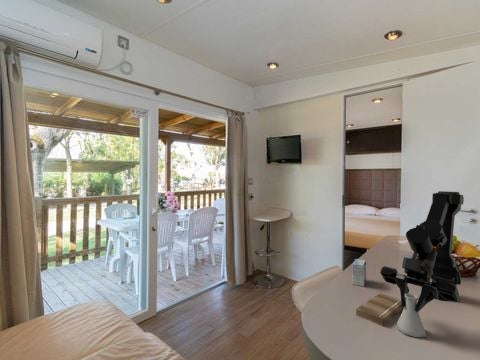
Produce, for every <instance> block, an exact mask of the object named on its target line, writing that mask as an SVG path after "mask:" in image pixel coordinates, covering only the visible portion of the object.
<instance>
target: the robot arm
mask: <svg viewBox="0 0 480 360" xmlns="http://www.w3.org/2000/svg"><path fill="white" fill-rule="evenodd" d="M464 199H465V198H464V195H463V194H461V193H460V192H459V191H443V190H441V191H440V190H439V191H437V192H433V193H432V201H431V205H430V208H429V211H428V212H427V216H426V219H425V220H424V221H422V222H421V223H420V224H416V226H415V227H413V228H409V230H408V231H406V233H405V238H406V240H407V242H408V244H409V247H410V249H411V251H412V252H413V253H412V256H411V257H410V258H409V257H405V256H404V257H403V260H402V266H401V268H402V269H404V270H403V271H404V273H401V272H400V273H399V272H398V270H397V268H393V267H390V266H386V265H384V266H382V267H381V268H380V272H379V273H380V275H381V276H382V279H383V281H384V282H386V283H388V284H392V285H396V286H397V287H398V288H399V291H400V299H401V304H402V307H403V309H404V307H405V303H406V298H405V294H410V288H409V286H408V285H413V286H418V287H420V288H421V291H420V294H419V297H418V300H417V304H416V309H415V311H416V312H418V313H419V312H420V311H422V309H423V308H424V307H425V306H426V305H427V304H429V303H431V301H433V300H439V301H449V302H453V303H459V300H460V299H459V298H460V293H459V290H458V286H457V285H459V286H460V285H461V284H462V279H461V277H462V276H461V273H460V271H459V268H458V267H457V261H456V260H455V258H454V256H453V255H452V253H453V251H452V250H453V241H454V230H455V229H454V227H455V219H456V218H455V216H456V215H457V214H458V213H459V212H460V211H461V210H462V205H464V201H465V200H464ZM435 248H436V249H435ZM405 274H406V275H405Z"/></svg>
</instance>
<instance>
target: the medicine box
mask: <svg viewBox="0 0 480 360" xmlns="http://www.w3.org/2000/svg"><path fill="white" fill-rule="evenodd" d="M351 265H352V266H351V268H352V270H351V271H352V272H351V276H352V278H351V279H352V281H351V282H352V285H355V286H358V287H359V286H360V287H363V288H364V287H365V284H366V282H367V260H365V259H359V258H355V259H354V261H353V262H352V264H351Z"/></svg>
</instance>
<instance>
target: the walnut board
mask: <svg viewBox="0 0 480 360" xmlns="http://www.w3.org/2000/svg"><path fill="white" fill-rule="evenodd" d="M403 309H404V308H403V307H402V304H401V298H397V297H395V296H392V295H388V294H385V293H382V292H378V294H376V295H375V296H374V297H372V298H370V299H369V300H367V301H366V302H364V303H362V304H361V305H359V306H358V307H357V308H355V315H356V316H358V317H360V318H362V319H364V320H366V321H367V320H368V321H370V322H372V323H375V324H377V325H379V326H381V327H384V325H386V324H387V323H388V322H389V321H390V320H392V319H393V318H394V317H395V316H396V315H398V314H399V313H400V312H401V311H403Z"/></svg>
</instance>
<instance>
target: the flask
mask: <svg viewBox="0 0 480 360" xmlns="http://www.w3.org/2000/svg"><path fill="white" fill-rule="evenodd" d="M405 298H406V303H405V307H404V308H403V309H402V310H401V311H402V312H401V315H400V316H399V318H398V320H397V322H396V329H397V330H399V331H400V332H401V333H402V334H403V335H407V336H411V337H414V338H426V337H427V334H426V329H425V326H424V325H423V322H422V319H421V316H420V314H419V312H416V311H415V309H416V304H417V302H418V299H419V297H418V296H417V295H415V294H413V293H409V294H405Z"/></svg>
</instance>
